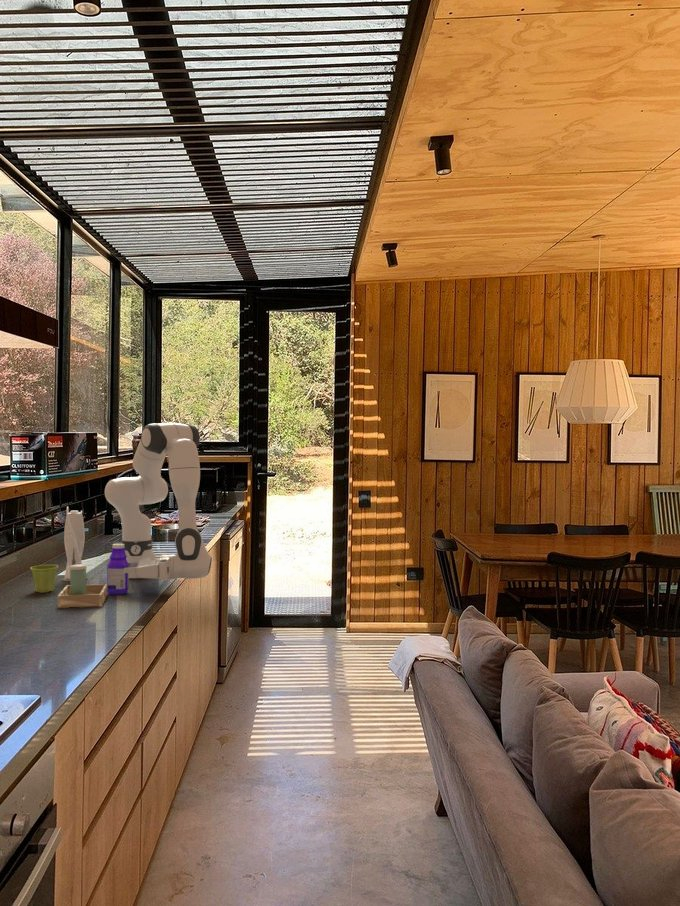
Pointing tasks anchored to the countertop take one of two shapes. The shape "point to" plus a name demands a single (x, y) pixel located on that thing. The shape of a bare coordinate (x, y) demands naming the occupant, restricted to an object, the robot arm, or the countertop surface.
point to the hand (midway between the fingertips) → (124, 567)
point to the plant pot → (44, 577)
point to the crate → (83, 597)
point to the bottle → (117, 571)
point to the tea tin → (78, 579)
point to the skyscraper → (73, 540)
